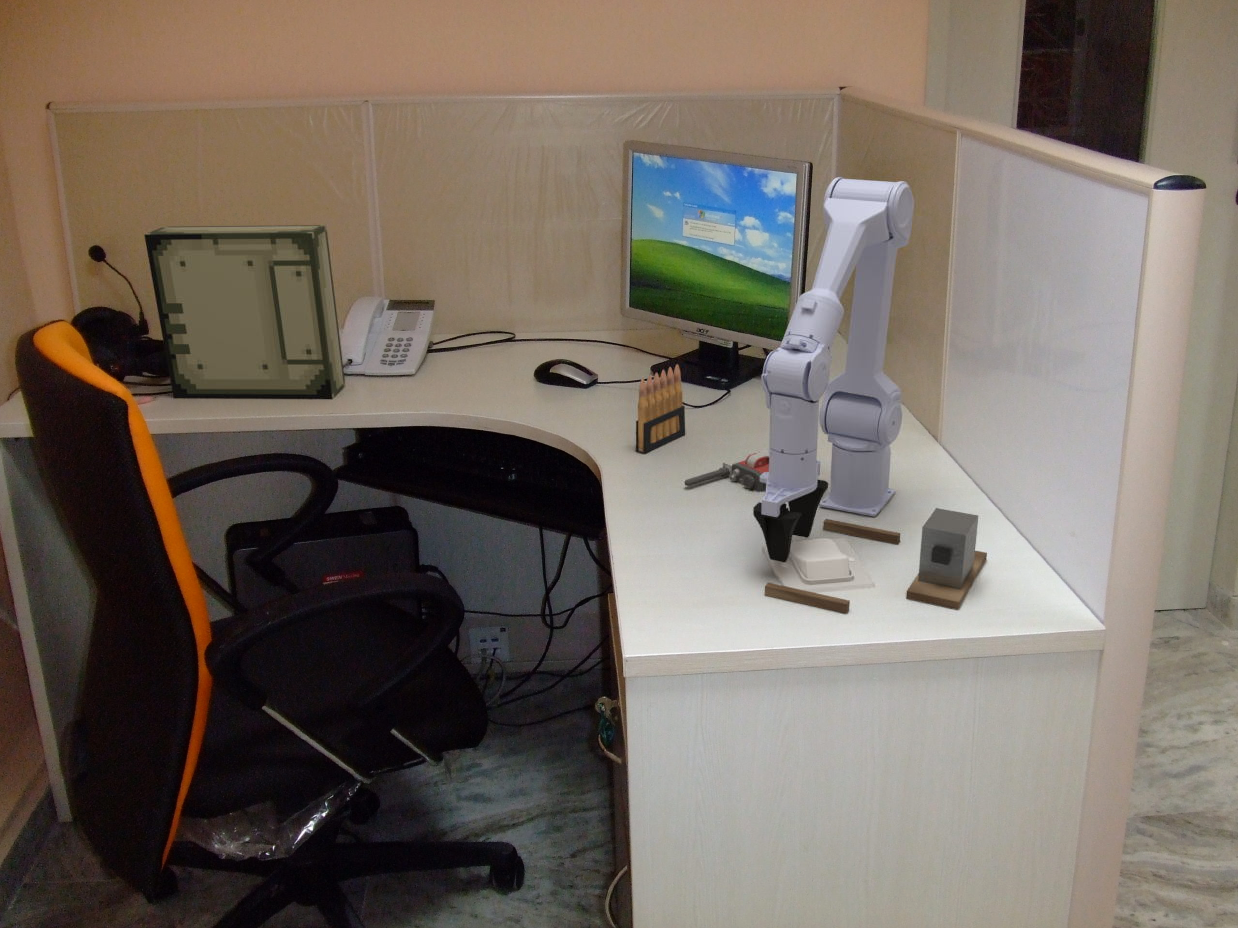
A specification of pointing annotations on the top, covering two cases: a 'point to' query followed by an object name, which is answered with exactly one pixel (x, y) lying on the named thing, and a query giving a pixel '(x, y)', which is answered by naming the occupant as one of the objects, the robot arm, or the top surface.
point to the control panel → (247, 311)
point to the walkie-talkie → (740, 471)
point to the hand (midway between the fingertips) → (789, 547)
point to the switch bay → (825, 600)
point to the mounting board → (945, 588)
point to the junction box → (948, 548)
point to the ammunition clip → (660, 411)
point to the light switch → (821, 566)
